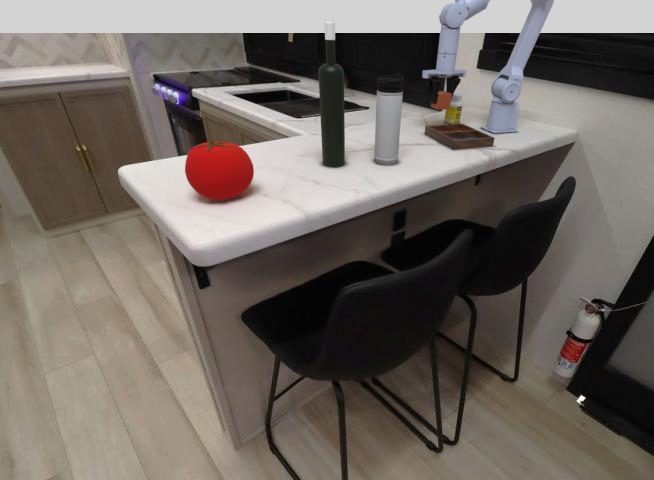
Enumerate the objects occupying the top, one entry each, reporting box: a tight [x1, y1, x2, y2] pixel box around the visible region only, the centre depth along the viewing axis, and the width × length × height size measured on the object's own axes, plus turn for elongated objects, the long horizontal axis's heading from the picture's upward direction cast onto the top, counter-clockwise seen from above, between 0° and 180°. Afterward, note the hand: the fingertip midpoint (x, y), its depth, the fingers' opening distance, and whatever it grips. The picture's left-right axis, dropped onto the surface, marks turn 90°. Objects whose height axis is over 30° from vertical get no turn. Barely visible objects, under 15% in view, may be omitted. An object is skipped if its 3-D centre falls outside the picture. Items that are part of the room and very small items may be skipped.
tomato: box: [184, 140, 255, 201], centre depth 77 cm, size 12×13×11 cm
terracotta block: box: [430, 90, 452, 111], centre depth 122 cm, size 4×4×4 cm
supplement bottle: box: [443, 92, 464, 125], centre depth 131 cm, size 5×5×10 cm
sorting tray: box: [424, 122, 495, 151], centre depth 118 cm, size 14×18×2 cm
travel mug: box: [373, 73, 405, 166], centre depth 95 cm, size 6×7×20 cm
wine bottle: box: [318, 19, 346, 168], centre depth 89 cm, size 6×6×30 cm
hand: (440, 103), depth 123 cm, fingers closed on terracotta block, 4 cm apart
